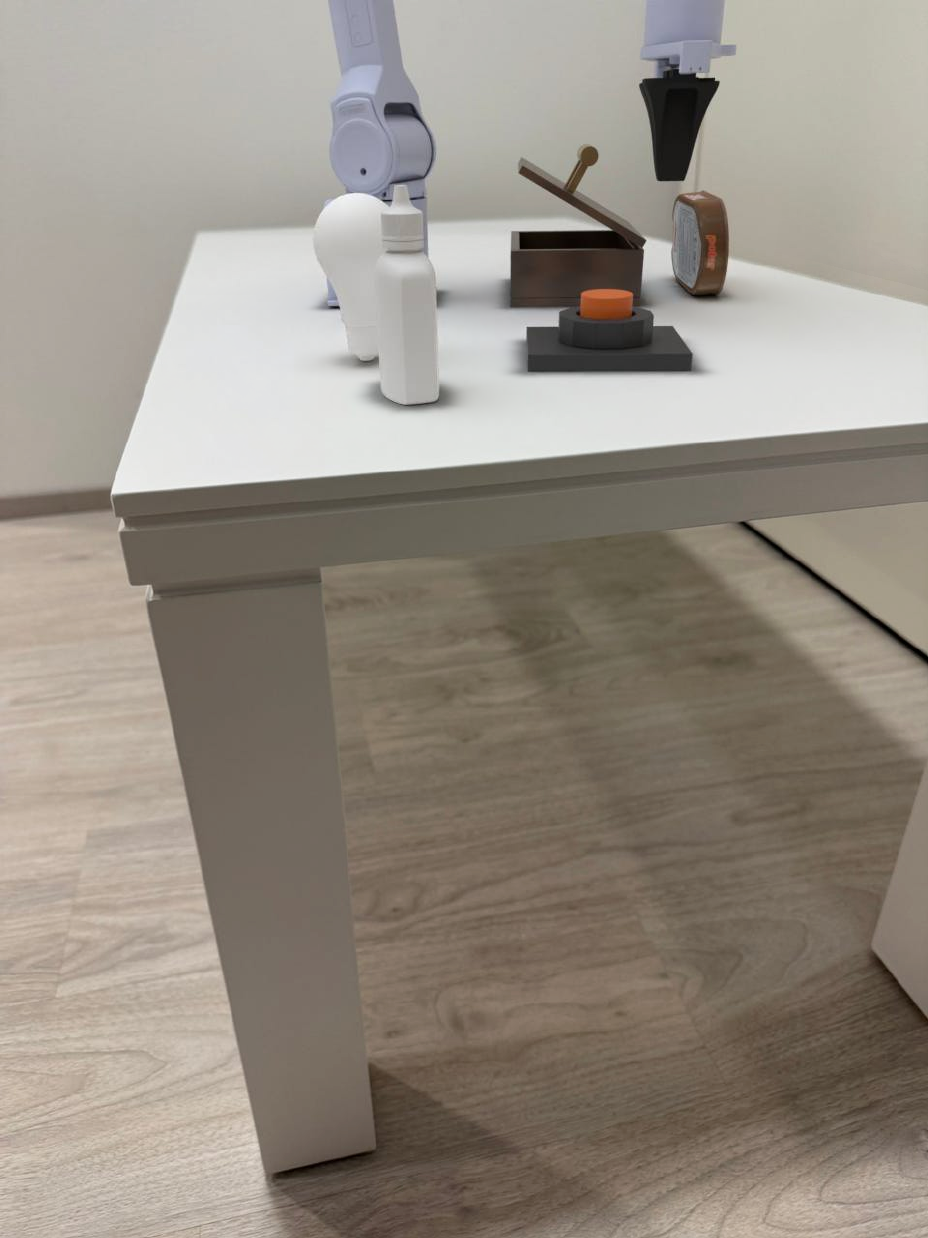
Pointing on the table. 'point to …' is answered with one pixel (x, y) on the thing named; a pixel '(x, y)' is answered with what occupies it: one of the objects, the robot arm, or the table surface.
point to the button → (606, 304)
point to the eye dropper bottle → (406, 307)
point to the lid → (576, 199)
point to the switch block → (606, 345)
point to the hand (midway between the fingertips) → (670, 180)
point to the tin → (700, 242)
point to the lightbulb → (353, 264)
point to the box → (571, 266)
